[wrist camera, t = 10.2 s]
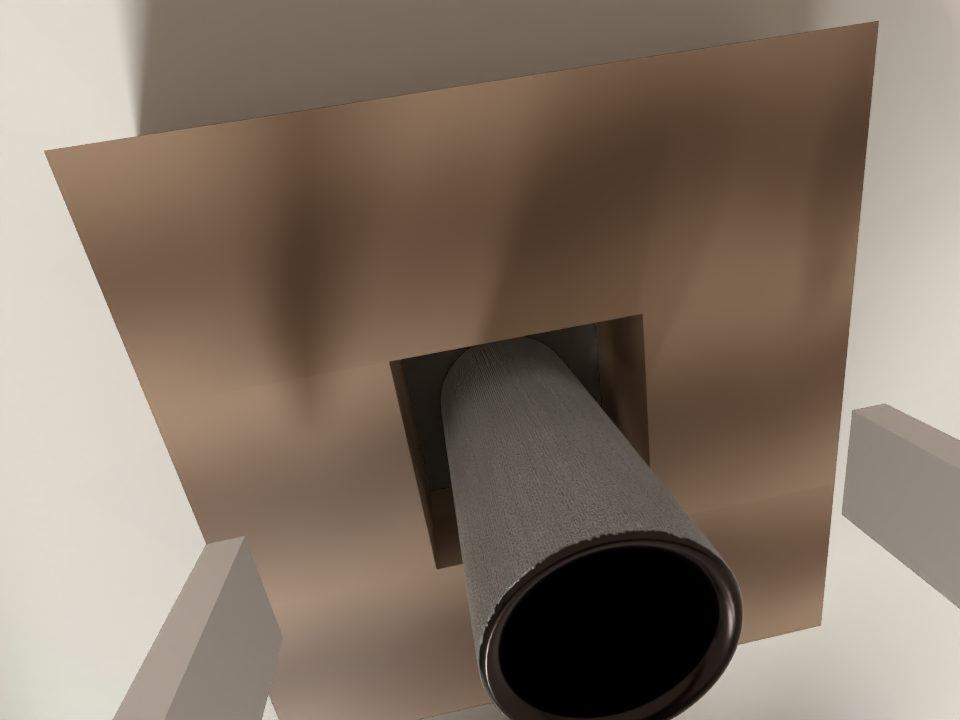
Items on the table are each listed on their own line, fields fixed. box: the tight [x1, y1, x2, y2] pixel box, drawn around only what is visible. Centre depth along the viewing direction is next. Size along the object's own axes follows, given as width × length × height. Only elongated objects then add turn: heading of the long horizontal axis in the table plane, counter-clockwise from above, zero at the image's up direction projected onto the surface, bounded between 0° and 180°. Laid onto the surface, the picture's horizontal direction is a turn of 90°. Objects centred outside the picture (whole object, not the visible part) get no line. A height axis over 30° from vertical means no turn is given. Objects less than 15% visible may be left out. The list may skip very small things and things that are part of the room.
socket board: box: [44, 21, 879, 720], centre depth 16 cm, size 18×18×4 cm
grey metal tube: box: [441, 336, 743, 720], centre depth 14 cm, size 4×4×10 cm
